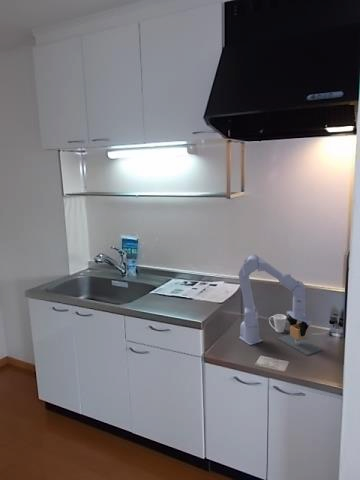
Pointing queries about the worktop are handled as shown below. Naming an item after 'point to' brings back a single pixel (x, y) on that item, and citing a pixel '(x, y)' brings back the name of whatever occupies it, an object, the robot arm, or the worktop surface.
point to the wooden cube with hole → (296, 331)
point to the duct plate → (300, 345)
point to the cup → (279, 322)
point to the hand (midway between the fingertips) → (298, 333)
